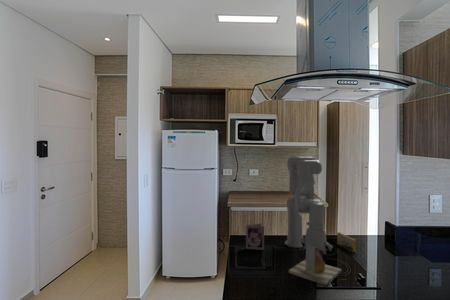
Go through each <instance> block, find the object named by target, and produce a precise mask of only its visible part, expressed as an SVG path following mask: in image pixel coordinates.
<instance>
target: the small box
mask: <svg viewBox="0 0 450 300" xmlns="http://www.w3.org/2000/svg"><path fill="white" fill-rule="evenodd" d="M323 254H324V253H323V251H322V250H318V248H317V247H314V246H310V245H306V257H305V259H306V267H305V268H306V269H307V270H309V271H311V272H313V273H316V272H319V271H323V270H325V265H326V261H325V262H323Z"/></svg>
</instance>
